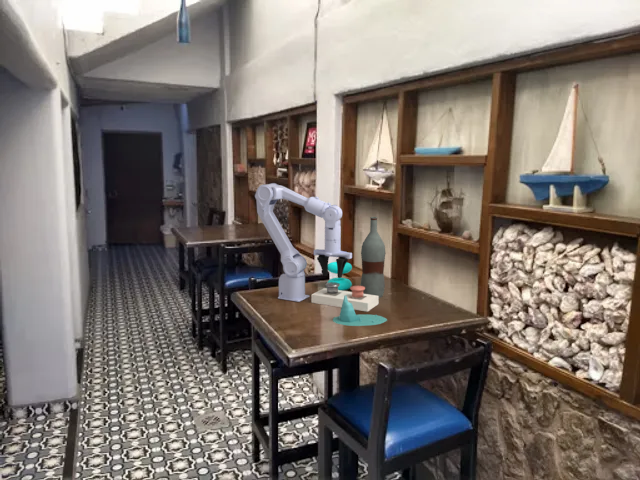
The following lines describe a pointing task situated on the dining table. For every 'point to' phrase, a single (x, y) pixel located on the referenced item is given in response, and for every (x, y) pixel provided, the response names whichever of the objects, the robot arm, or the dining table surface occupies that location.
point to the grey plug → (332, 287)
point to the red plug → (357, 291)
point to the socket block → (337, 299)
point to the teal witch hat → (356, 316)
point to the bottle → (373, 262)
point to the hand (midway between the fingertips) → (332, 276)
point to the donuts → (343, 282)
